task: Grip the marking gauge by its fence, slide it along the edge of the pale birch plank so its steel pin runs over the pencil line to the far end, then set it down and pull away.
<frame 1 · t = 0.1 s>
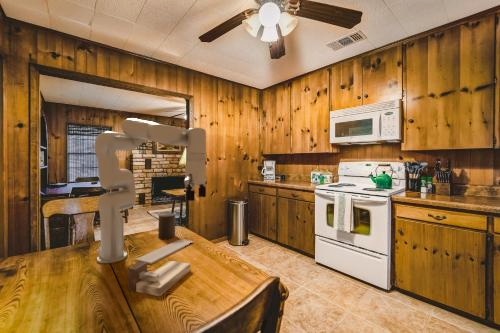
hand: (196, 198, 99), 31 cm above the table, tool pointing down, fingers open, 9 cm apart
marking gauge: (137, 286, 88), on the table
pillar candle: (166, 237, 145), on the table
baseboard: (165, 252, 123), on the table
birch plank: (165, 280, 93), on the table
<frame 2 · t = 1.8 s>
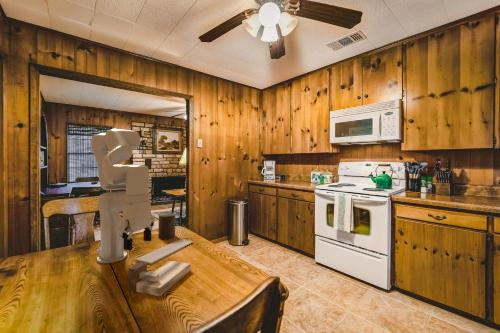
hand: (138, 245, 87), 16 cm above the table, tool pointing down, fingers open, 9 cm apart
nothing on the table moved.
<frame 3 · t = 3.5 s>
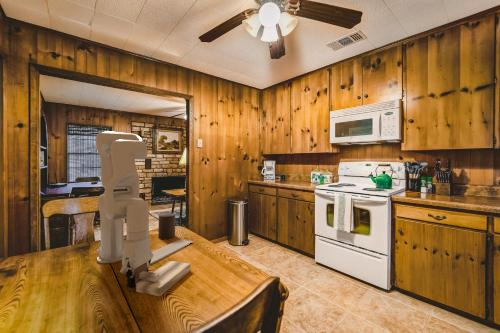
hand: (138, 282, 88), 2 cm above the table, tool pointing down, fingers closed on marking gauge, 6 cm apart
marking gauge: (138, 286, 88), on the table, touching gripper
everything else where it was.
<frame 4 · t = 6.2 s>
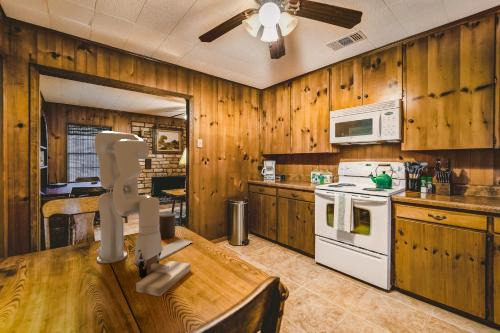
hand: (149, 273, 94), 2 cm above the table, tool pointing down, fingers closed on marking gauge, 6 cm apart
marking gauge: (149, 277, 94), on the table, touching gripper
everything else where it was.
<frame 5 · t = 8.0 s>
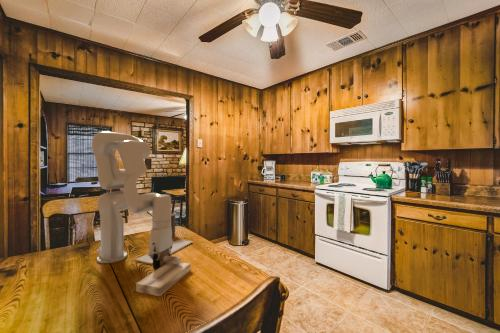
hand: (161, 265, 101), 2 cm above the table, tool pointing down, fingers closed on marking gauge, 6 cm apart
marking gauge: (161, 268, 101), on the table, touching gripper
everything else where it was.
when the fingers open (2 cm above the table, at t = 9.1 s): marking gauge stays where it is, on the table.
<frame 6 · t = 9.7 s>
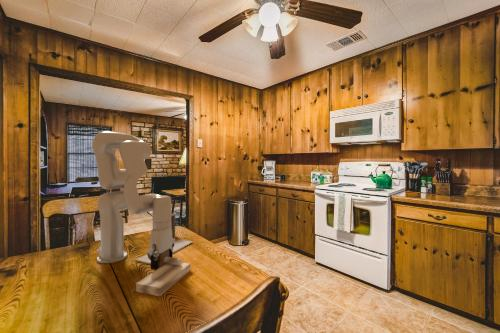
hand: (162, 264, 101), 2 cm above the table, tool pointing down, fingers open, 9 cm apart
marking gauge: (161, 269, 101), on the table
everything else where it was.
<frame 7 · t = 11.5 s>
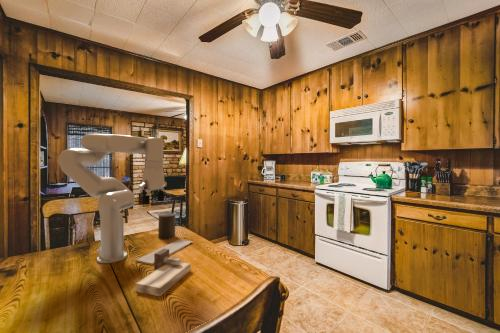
hand: (153, 202, 107), 28 cm above the table, tool pointing down, fingers open, 9 cm apart
nothing on the table moved.
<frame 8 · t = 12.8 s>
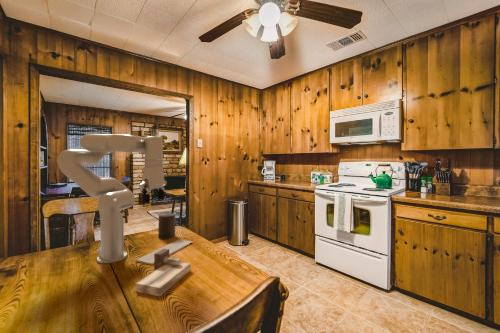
hand: (153, 201, 108), 28 cm above the table, tool pointing down, fingers open, 9 cm apart
nothing on the table moved.
at the end: marking gauge 0.2 cm from the target spot, on the table; marking gauge tilted 0°; the gripper is holding nothing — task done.
